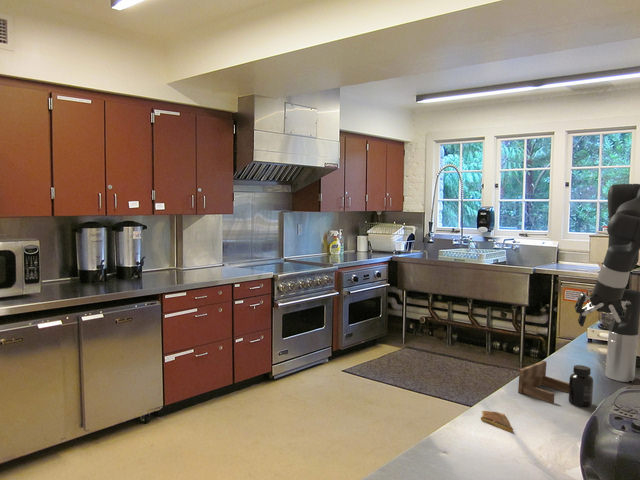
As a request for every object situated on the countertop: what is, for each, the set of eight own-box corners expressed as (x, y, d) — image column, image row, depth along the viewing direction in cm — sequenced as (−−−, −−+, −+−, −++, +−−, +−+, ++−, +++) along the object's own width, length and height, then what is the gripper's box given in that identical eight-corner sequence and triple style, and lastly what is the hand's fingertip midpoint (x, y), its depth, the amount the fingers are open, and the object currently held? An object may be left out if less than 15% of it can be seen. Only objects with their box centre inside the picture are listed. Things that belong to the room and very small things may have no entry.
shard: (513, 434, 139) (513, 428, 139) (484, 432, 140) (485, 426, 140) (504, 417, 150) (504, 412, 150) (478, 415, 151) (478, 410, 151)
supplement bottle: (589, 401, 163) (592, 365, 162) (593, 409, 156) (596, 372, 155) (566, 398, 165) (569, 362, 164) (569, 406, 159) (572, 369, 158)
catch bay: (541, 382, 179) (543, 360, 178) (573, 392, 170) (575, 369, 169) (518, 392, 169) (519, 369, 168) (550, 403, 160) (552, 379, 159)
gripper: (635, 279, 147) (618, 326, 154) (583, 270, 151) (568, 317, 157) (642, 291, 141) (625, 339, 147) (587, 281, 144) (572, 329, 151)
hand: (596, 327), depth 152 cm, fingers open, 8 cm apart
